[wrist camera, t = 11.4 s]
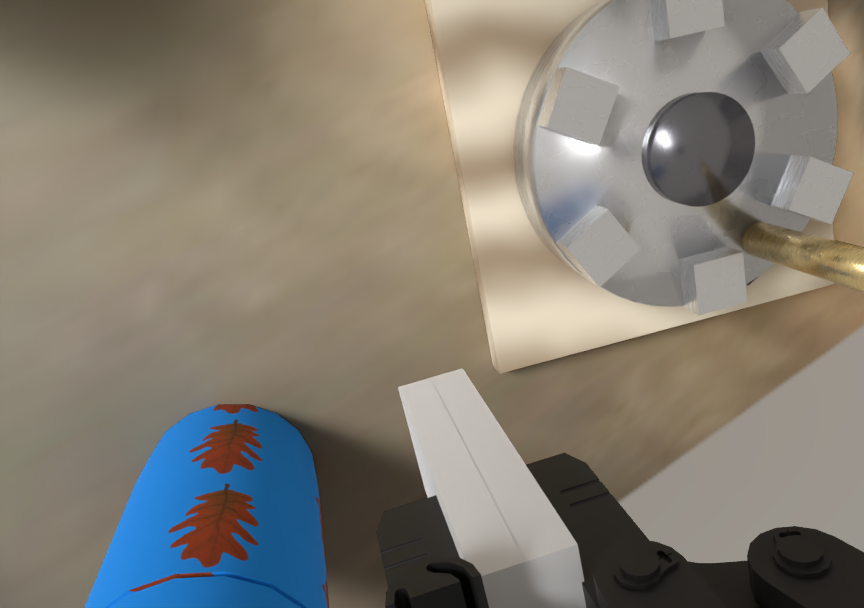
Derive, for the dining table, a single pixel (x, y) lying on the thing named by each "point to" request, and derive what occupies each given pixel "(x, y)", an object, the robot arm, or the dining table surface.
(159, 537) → the thermos
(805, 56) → the metal lathe chuck
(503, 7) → the birch base board
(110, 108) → the dining table surface
